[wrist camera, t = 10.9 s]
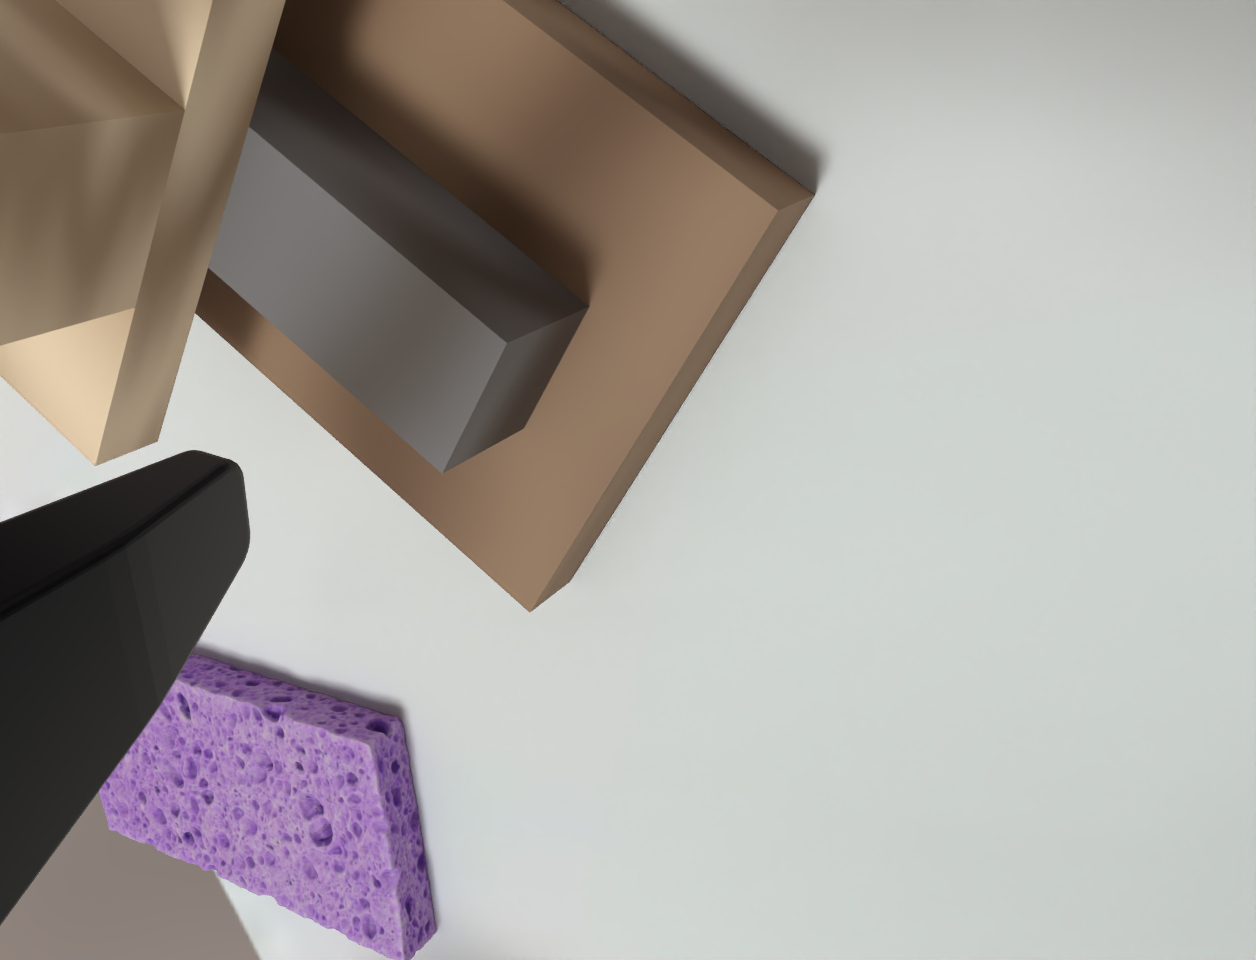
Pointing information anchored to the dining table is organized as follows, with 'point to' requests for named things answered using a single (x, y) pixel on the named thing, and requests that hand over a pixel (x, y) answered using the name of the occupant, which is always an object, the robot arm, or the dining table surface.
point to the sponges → (282, 801)
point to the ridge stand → (487, 260)
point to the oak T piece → (115, 197)
